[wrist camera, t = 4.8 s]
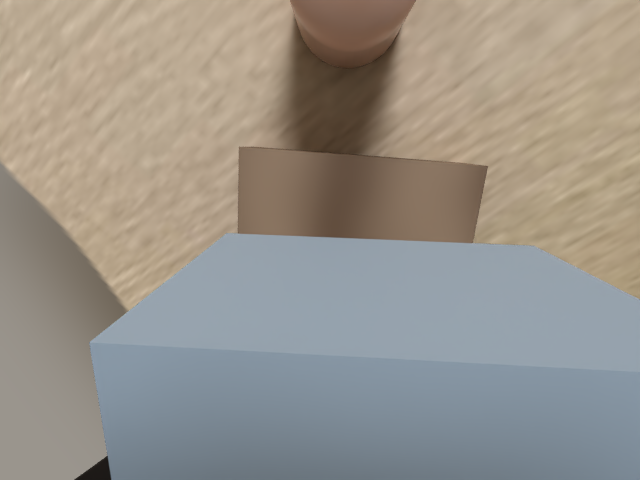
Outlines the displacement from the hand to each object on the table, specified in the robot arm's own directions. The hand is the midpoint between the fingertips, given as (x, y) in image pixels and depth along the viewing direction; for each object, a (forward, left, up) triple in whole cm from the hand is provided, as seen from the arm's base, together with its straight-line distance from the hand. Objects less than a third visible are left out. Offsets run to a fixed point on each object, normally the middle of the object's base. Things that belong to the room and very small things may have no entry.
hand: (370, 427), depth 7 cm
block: (0, 0, -1) cm, 1 cm away
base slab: (0, 0, -11) cm, 11 cm away
